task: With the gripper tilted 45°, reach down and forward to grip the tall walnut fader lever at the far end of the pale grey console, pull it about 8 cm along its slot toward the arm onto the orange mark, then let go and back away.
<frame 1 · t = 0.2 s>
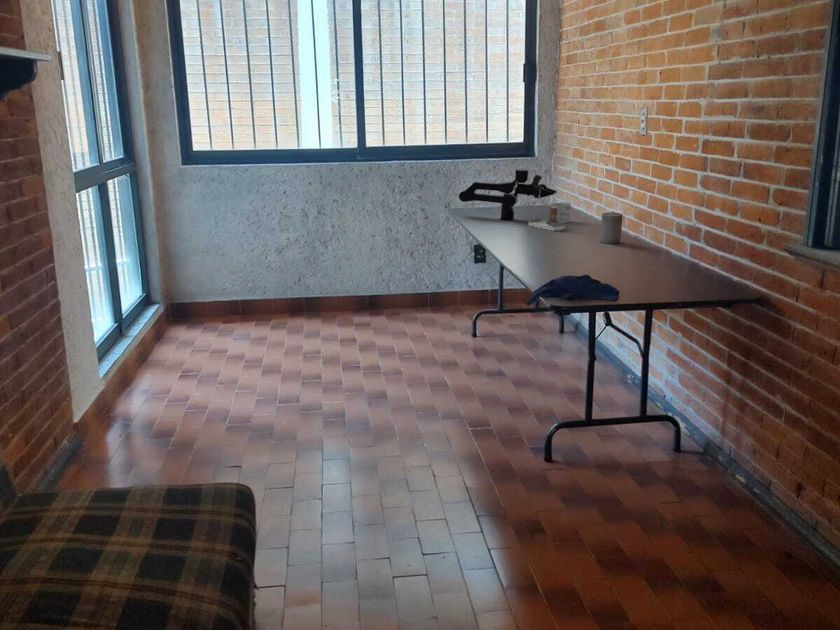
hand: (555, 192, 407), 16 cm above the table, tool horizontal, fingers open, 9 cm apart
console: (546, 227, 397), on the table
pillar candle: (609, 242, 364), on the table
light bulb box: (559, 221, 417), on the table
fader: (553, 214, 392), point 8 cm above the table, slide at 0.0 cm
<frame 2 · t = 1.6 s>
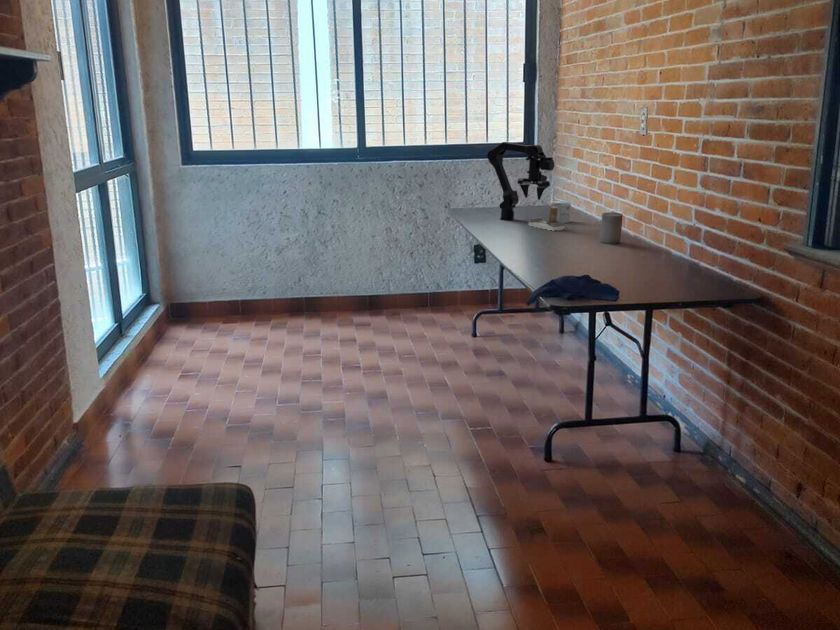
hand: (532, 198, 406), 13 cm above the table, tool pointing down, fingers open, 9 cm apart
nothing on the table moved.
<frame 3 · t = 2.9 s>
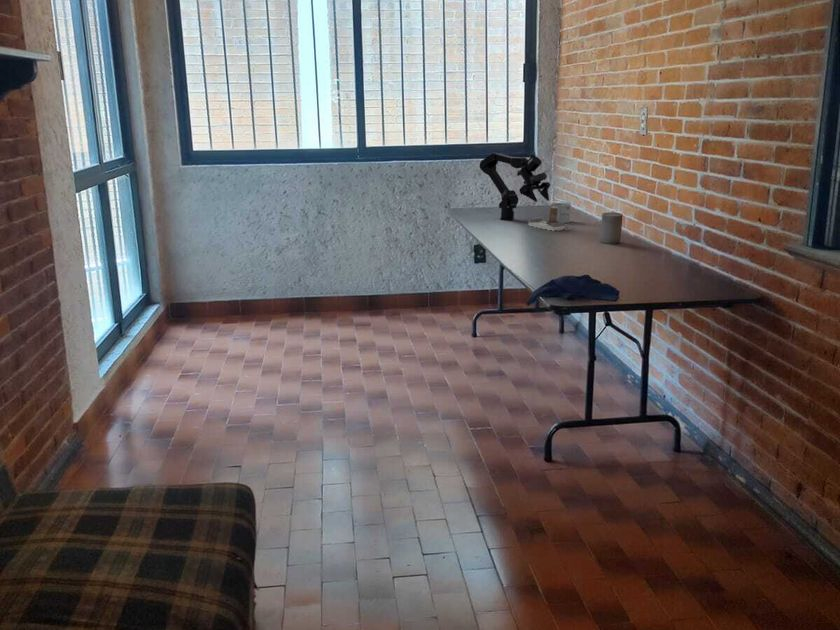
hand: (542, 200, 396), 14 cm above the table, tool tilted 45°, fingers open, 9 cm apart
nothing on the table moved.
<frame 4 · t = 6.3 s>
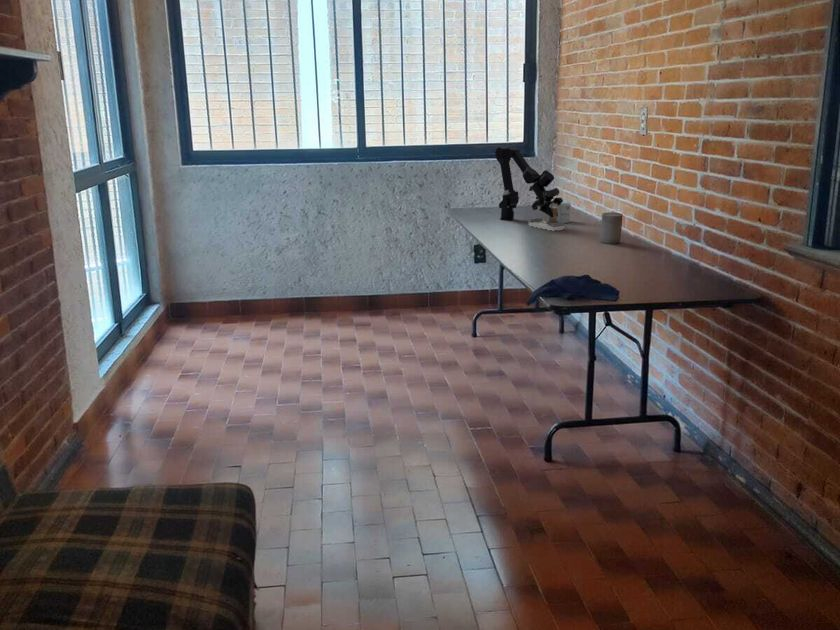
hand: (555, 216, 391), 7 cm above the table, tool tilted 45°, fingers closed on fader, 3 cm apart
fader: (553, 214, 392), point 8 cm above the table, slide at 0.0 cm, touching gripper
everything else where it was.
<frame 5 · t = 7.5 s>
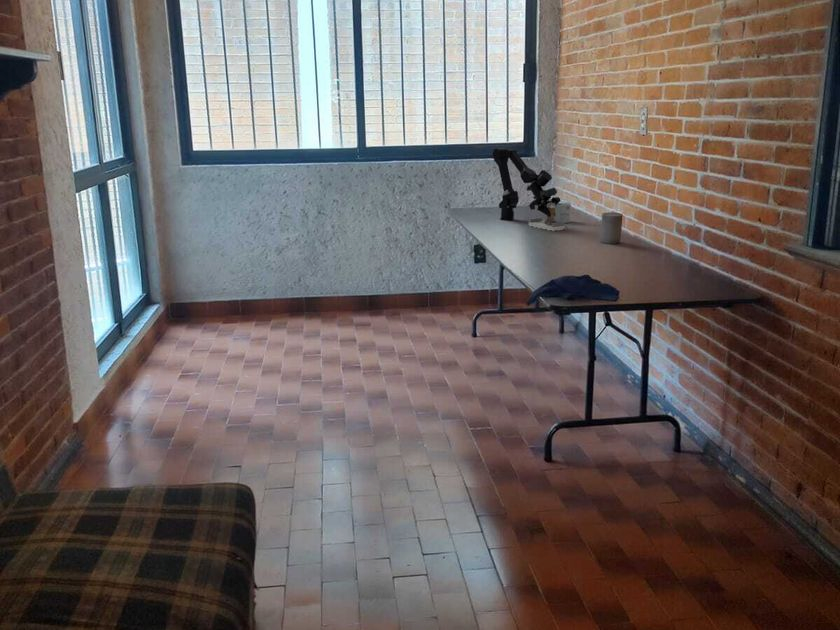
hand: (552, 216, 392), 7 cm above the table, tool tilted 45°, fingers closed on fader, 3 cm apart
fader: (550, 213, 393), point 8 cm above the table, slide at 1.7 cm, touching gripper
everything else where it was.
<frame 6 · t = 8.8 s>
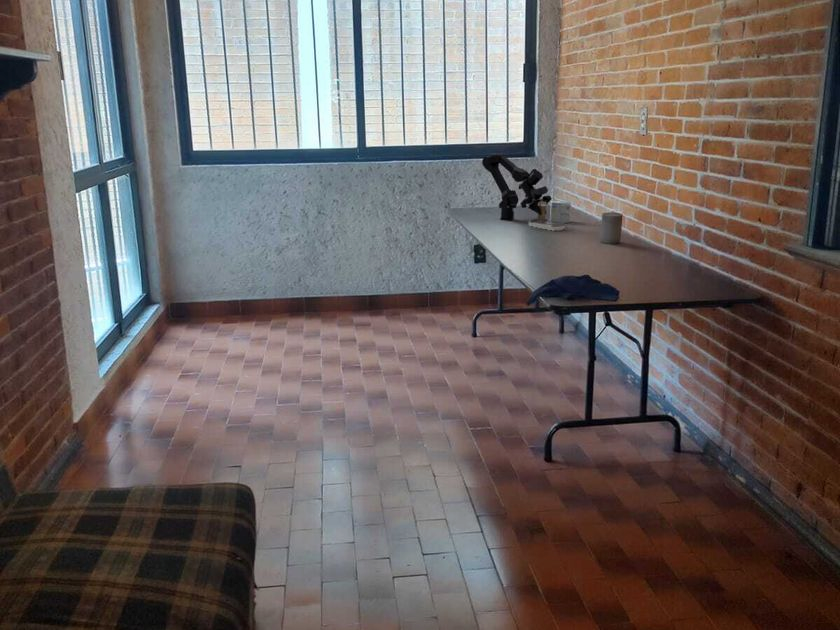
hand: (543, 214, 397), 7 cm above the table, tool tilted 45°, fingers closed on fader, 3 cm apart
fader: (541, 211, 398), point 8 cm above the table, slide at 7.9 cm, touching gripper
everything else where it was.
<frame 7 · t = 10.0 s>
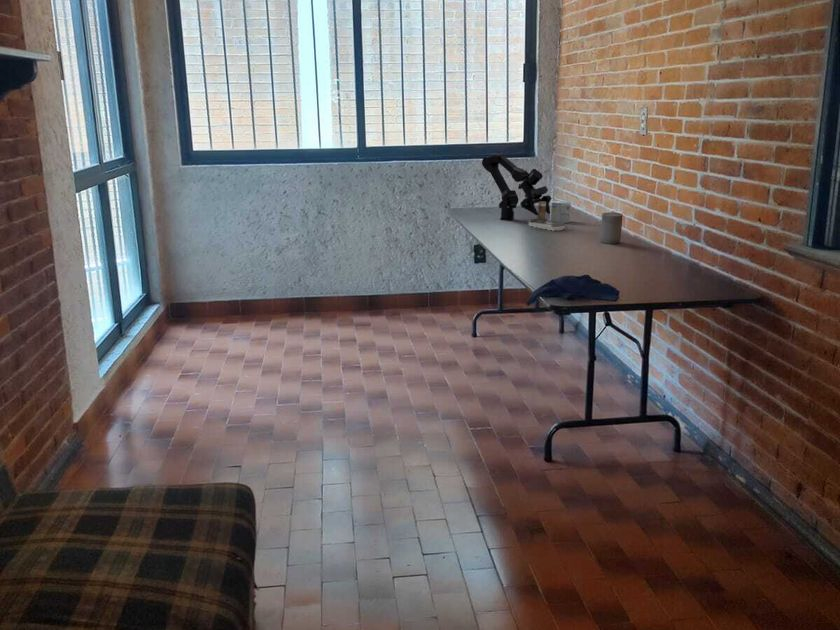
hand: (543, 214, 397), 7 cm above the table, tool tilted 45°, fingers open, 9 cm apart
fader: (541, 211, 398), point 8 cm above the table, slide at 8.0 cm
everything else where it was.
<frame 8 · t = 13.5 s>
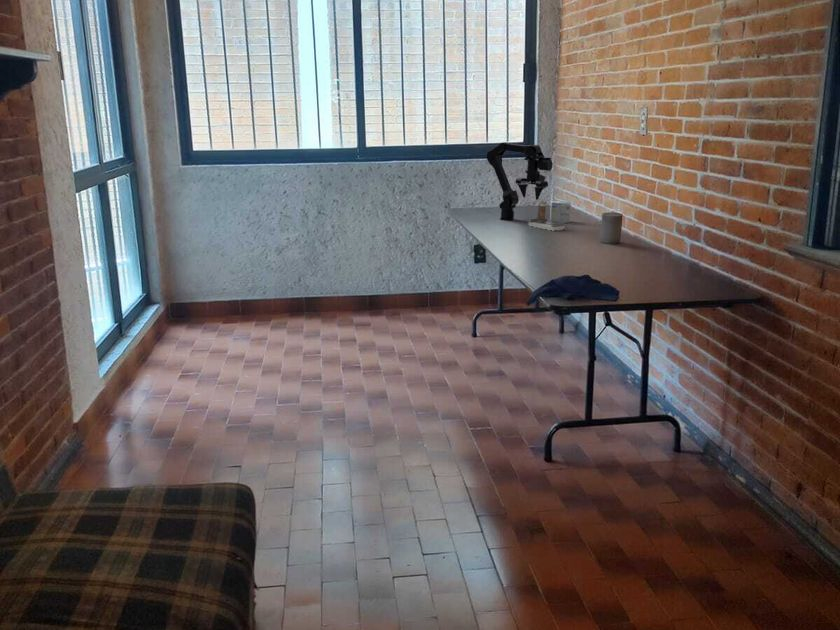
hand: (530, 198, 407), 13 cm above the table, tool pointing down, fingers open, 9 cm apart
nothing on the table moved.
at the end: fader slide at 8.0 cm; the gripper is holding nothing; light bulb box moved 0.3 cm from its start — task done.
